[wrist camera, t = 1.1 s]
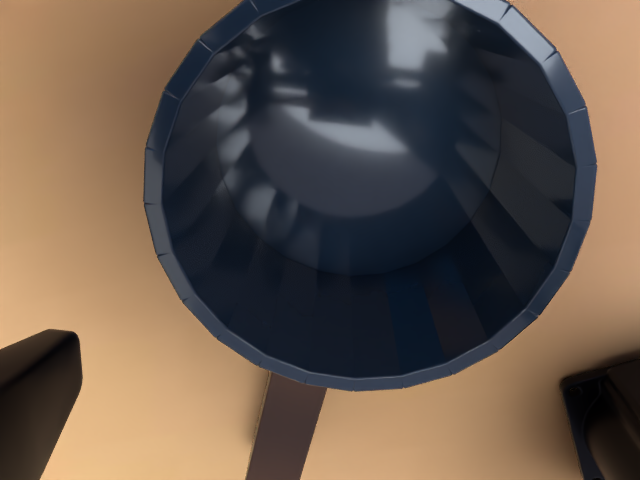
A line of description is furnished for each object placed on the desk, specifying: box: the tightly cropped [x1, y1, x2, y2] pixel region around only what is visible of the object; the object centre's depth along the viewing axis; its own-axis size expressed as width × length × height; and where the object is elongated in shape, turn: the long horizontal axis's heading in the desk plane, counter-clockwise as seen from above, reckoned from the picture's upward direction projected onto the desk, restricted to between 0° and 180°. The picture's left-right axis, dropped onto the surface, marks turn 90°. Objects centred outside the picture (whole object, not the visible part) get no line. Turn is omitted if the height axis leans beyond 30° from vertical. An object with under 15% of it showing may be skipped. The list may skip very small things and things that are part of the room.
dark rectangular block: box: [245, 371, 327, 480], centre depth 23 cm, size 7×2×3 cm, turn 167°
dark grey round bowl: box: [143, 0, 597, 392], centre depth 16 cm, size 11×11×7 cm
